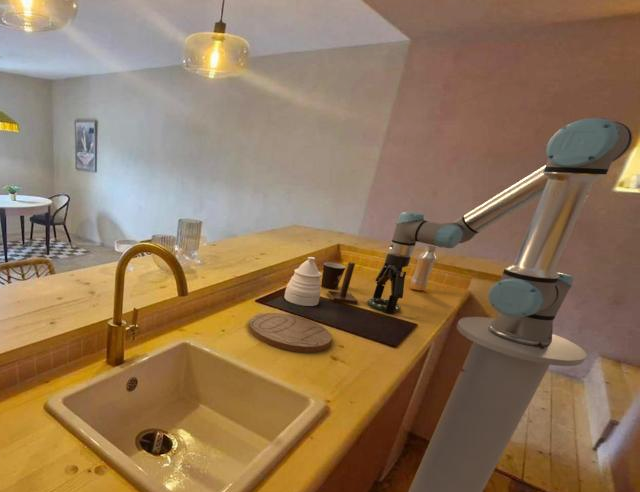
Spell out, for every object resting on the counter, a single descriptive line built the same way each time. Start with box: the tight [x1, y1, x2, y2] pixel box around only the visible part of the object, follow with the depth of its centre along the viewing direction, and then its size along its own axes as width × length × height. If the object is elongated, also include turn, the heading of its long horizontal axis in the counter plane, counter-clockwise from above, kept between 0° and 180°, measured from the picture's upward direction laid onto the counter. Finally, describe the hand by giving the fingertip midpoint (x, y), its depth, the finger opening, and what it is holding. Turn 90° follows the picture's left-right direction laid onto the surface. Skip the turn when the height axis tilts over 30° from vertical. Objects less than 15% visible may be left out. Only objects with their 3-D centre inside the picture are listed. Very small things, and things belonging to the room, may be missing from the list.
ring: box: [366, 297, 401, 313], centre depth 153 cm, size 11×11×2 cm
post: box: [327, 261, 359, 305], centre depth 157 cm, size 9×9×16 cm
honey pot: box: [284, 256, 323, 307], centre depth 153 cm, size 13×13×18 cm
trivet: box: [248, 312, 332, 353], centre depth 127 cm, size 25×25×2 cm
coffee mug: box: [320, 262, 346, 290], centre depth 173 cm, size 12×9×10 cm
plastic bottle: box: [408, 245, 437, 292], centre depth 172 cm, size 6×7×20 cm
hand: (382, 306), depth 154 cm, fingers open, 13 cm apart
